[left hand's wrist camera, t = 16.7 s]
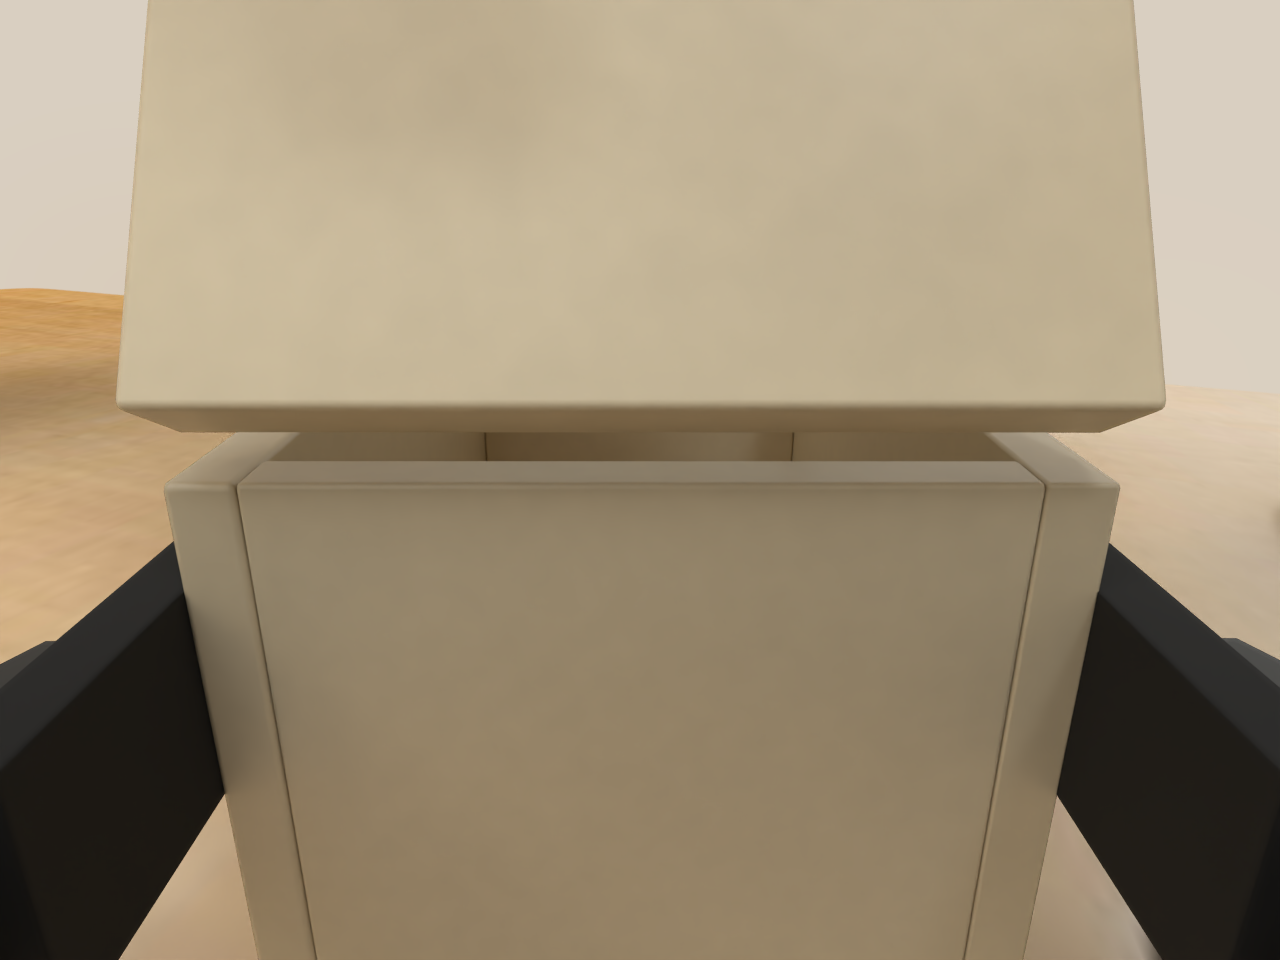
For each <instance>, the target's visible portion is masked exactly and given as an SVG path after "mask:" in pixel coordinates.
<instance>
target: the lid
mask: <svg viewBox="0 0 1280 960" xmlns="http://www.w3.org/2000/svg"><path fill="white" fill-rule="evenodd" d="M116 403H117V406H118V408H119V409H121V410H123V411H126V412H128V413H131V414H134V415H136V416H139V417H142V418H144V419H147V420H150V421H152V422H155V423H158V424H161V425H163V426H166V427H169V428H171V429H174V430H177V431H179V432H1055V433H1100V432H1103V431H1105V430H1108V429H1111V428H1114V427H1116V426H1119V425H1122V424H1125V423H1127V422H1130V421H1133V420H1135V419H1138V418H1141V417H1144V416H1146V415H1149V414H1152V413H1154V412H1157V411H1159V410H1162V409H1163V408H1164V406H1165V403H1166V392H1165V380H1164V368H1163V356H1162V344H1161V332H1160V319H1159V307H1158V295H1157V283H1156V270H1155V258H1154V246H1153V234H1152V222H1151V209H1150V197H1149V185H1148V173H1147V161H1146V148H1145V137H1144V124H1143V112H1142V100H1141V88H1140V76H1139V63H1138V51H1137V39H1136V26H1135V14H1134V2H1133V0H148V9H147V21H146V34H145V46H144V58H143V70H142V83H141V95H140V107H139V120H138V132H137V144H136V156H135V169H134V181H133V193H132V206H131V218H130V230H129V242H128V255H127V267H126V279H125V292H124V304H123V316H122V329H121V341H120V353H119V365H118V378H117V390H116Z"/></svg>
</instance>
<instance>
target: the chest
mask: <svg viewBox="0 0 1280 960" xmlns="http://www.w3.org/2000/svg"><path fill="white" fill-rule="evenodd" d="M1119 491H1120V485H1119V484H1118V483H1117V482H1116V481H1114V480H1113V479H1111V478H1110V477H1109V476H1107V475H1106V474H1104V473H1103V472H1102V471H1100V470H1099V469H1097V468H1096V467H1094V466H1093V465H1092V464H1090V463H1089V462H1087V461H1086V460H1085V459H1083V458H1082V457H1080V456H1079V455H1078V454H1076V453H1075V452H1073V451H1072V450H1071V449H1069V448H1068V447H1066V446H1065V445H1063V444H1062V443H1061V442H1059V441H1058V440H1056V439H1055V438H1054V437H1052V436H1051V435H1049V434H1048V433H1047V432H236V433H235V434H233V435H232V436H231V437H229V438H228V439H227V440H225V441H224V442H222V443H221V444H220V445H218V446H217V447H215V448H214V449H213V450H211V451H210V452H209V453H207V454H206V455H204V456H203V457H202V458H200V459H199V460H197V461H196V462H195V463H193V464H192V465H191V466H189V467H188V468H186V469H185V470H184V471H182V472H181V473H179V474H178V475H177V476H175V477H174V478H173V479H171V480H170V481H168V482H167V483H166V484H165V487H164V495H165V500H166V505H167V510H168V514H169V519H170V524H171V529H172V534H173V539H174V544H175V549H176V554H177V559H178V564H179V569H180V574H181V579H182V584H183V589H184V594H185V599H186V604H187V608H188V613H189V618H190V623H191V628H192V633H193V638H194V643H195V648H196V653H197V658H198V663H199V668H200V673H201V678H202V683H203V688H204V693H205V697H206V702H207V707H208V712H209V717H210V722H211V727H212V732H213V737H214V742H215V747H216V752H217V757H218V762H219V767H220V772H221V777H222V782H223V787H224V791H225V796H226V801H227V806H228V811H229V816H230V821H231V826H232V831H233V836H234V841H235V846H236V851H237V856H238V861H239V866H240V871H241V876H242V881H243V885H244V890H245V895H246V900H247V905H248V910H249V915H250V920H251V925H252V930H253V935H254V940H255V945H256V950H257V955H258V960H1023V958H1024V953H1025V948H1026V943H1027V938H1028V933H1029V929H1030V924H1031V919H1032V914H1033V909H1034V904H1035V899H1036V894H1037V890H1038V885H1039V880H1040V875H1041V870H1042V865H1043V860H1044V856H1045V851H1046V846H1047V841H1048V836H1049V831H1050V826H1051V822H1052V817H1053V812H1054V807H1055V802H1056V797H1057V789H1058V784H1059V779H1060V774H1061V769H1062V764H1063V760H1064V755H1065V750H1066V745H1067V740H1068V735H1069V730H1070V725H1071V720H1072V715H1073V711H1074V706H1075V701H1076V696H1077V691H1078V686H1079V681H1080V676H1081V671H1082V667H1083V662H1084V657H1085V652H1086V647H1087V642H1088V637H1089V632H1090V627H1091V623H1092V618H1093V613H1094V608H1095V603H1096V598H1097V593H1098V592H1099V588H1100V583H1101V578H1102V574H1103V569H1104V564H1105V559H1106V554H1107V549H1108V544H1109V540H1110V535H1111V530H1112V525H1113V520H1114V515H1115V510H1116V506H1117V501H1118V496H1119Z"/></svg>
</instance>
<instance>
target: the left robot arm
mask: <svg viewBox="0 0 1280 960" xmlns="http://www.w3.org/2000/svg"><path fill="white" fill-rule="evenodd" d="M224 794H225V791H224V787H223V782H222V777H221V772H220V767H219V762H218V757H217V752H216V747H215V742H214V737H213V732H212V727H211V722H210V717H209V712H208V707H207V702H206V697H205V693H204V688H203V683H202V678H201V673H200V668H199V663H198V658H197V653H196V648H195V643H194V638H193V633H192V628H191V623H190V618H189V613H188V608H187V604H186V599H185V594H184V589H183V584H182V579H181V574H180V569H179V564H178V559H177V554H176V549H175V544H174V541H173V542H172V543H171V544H170V545H169V546H167V547H166V548H165V549H164V550H163V551H162V552H160V553H159V554H158V555H157V556H156V557H154V558H153V559H152V560H151V561H150V562H149V563H147V564H146V565H145V566H144V567H143V568H142V569H140V570H139V571H138V572H137V573H136V574H134V575H133V576H132V577H131V578H130V579H129V580H127V581H126V582H125V583H124V584H123V585H122V586H120V587H119V588H118V589H117V590H116V591H114V592H113V593H112V594H111V595H110V596H109V597H107V598H106V599H105V600H104V601H103V602H101V603H100V604H99V605H98V606H97V607H96V608H94V609H93V610H92V611H91V612H90V613H89V614H87V615H86V616H85V617H84V618H83V619H81V620H80V621H79V622H78V623H77V624H76V625H74V626H73V627H72V628H71V629H70V630H69V631H67V632H66V633H65V634H64V635H63V636H61V637H60V638H59V639H58V640H57V641H45V642H43V643H41V644H39V645H37V646H35V647H33V648H31V649H29V650H27V651H25V652H24V653H22V654H20V655H18V656H16V657H14V658H12V659H10V660H8V661H6V662H4V663H2V664H0V960H119V958H120V957H121V955H122V953H123V952H124V950H125V949H126V947H127V946H128V944H129V943H130V941H131V939H132V938H133V936H134V935H135V933H136V932H137V930H138V928H139V927H140V925H141V924H142V922H143V921H144V919H145V918H146V916H147V914H148V913H149V911H150V910H151V908H152V907H153V905H154V903H155V902H156V900H157V899H158V897H159V896H160V894H161V893H162V891H163V889H164V888H165V886H166V885H167V883H168V882H169V880H170V878H171V877H172V875H173V874H174V872H175V871H176V869H177V868H178V866H179V864H180V863H181V861H182V860H183V858H184V857H185V855H186V853H187V852H188V850H189V849H190V847H191V846H192V844H193V843H194V841H195V839H196V838H197V836H198V835H199V833H200V832H201V830H202V828H203V827H204V825H205V824H206V822H207V821H208V819H209V818H210V816H211V814H212V813H213V811H214V810H215V808H216V807H217V805H218V803H219V802H220V800H221V799H222V797H223V796H224ZM1057 796H1058V797H1059V799H1060V800H1061V802H1062V804H1063V805H1064V807H1065V808H1066V810H1067V811H1068V813H1069V814H1070V816H1071V818H1072V819H1073V821H1074V822H1075V824H1076V825H1077V827H1078V829H1079V830H1080V832H1081V833H1082V835H1083V836H1084V838H1085V839H1086V841H1087V843H1088V844H1089V846H1090V847H1091V849H1092V850H1093V852H1094V854H1095V855H1096V857H1097V858H1098V860H1099V861H1100V863H1101V864H1102V866H1103V868H1104V869H1105V871H1106V872H1107V874H1108V875H1109V877H1110V879H1111V880H1112V882H1113V883H1114V885H1115V886H1116V888H1117V889H1118V891H1119V893H1120V894H1121V896H1122V897H1123V899H1124V900H1125V902H1126V904H1127V905H1128V907H1129V908H1130V910H1131V911H1132V913H1133V914H1134V916H1135V918H1136V919H1137V921H1138V922H1139V924H1140V925H1141V927H1142V929H1143V930H1144V932H1145V933H1146V935H1147V936H1148V938H1149V939H1150V941H1151V943H1152V944H1153V946H1154V947H1155V949H1156V950H1157V952H1158V953H1159V955H1160V957H1161V958H1162V960H1280V660H1278V659H1276V658H1274V657H1272V656H1270V655H1269V654H1267V653H1265V652H1263V651H1261V650H1259V649H1257V648H1255V647H1253V646H1251V645H1249V644H1247V643H1245V642H1243V641H1241V640H1239V639H1237V638H1221V637H1220V636H1218V635H1217V634H1216V633H1215V632H1214V631H1213V630H1211V629H1210V628H1209V627H1208V626H1207V625H1205V624H1204V623H1203V622H1202V621H1201V620H1200V619H1198V618H1197V617H1196V616H1195V615H1194V614H1193V613H1191V612H1190V611H1189V610H1188V609H1187V608H1185V607H1184V606H1183V605H1182V604H1181V603H1180V602H1178V601H1177V600H1176V599H1175V598H1174V597H1172V596H1171V595H1170V594H1169V593H1168V592H1167V591H1165V590H1164V589H1163V588H1162V587H1161V586H1160V585H1158V584H1157V583H1156V582H1155V581H1154V580H1152V579H1151V578H1150V577H1149V576H1148V575H1147V574H1145V573H1144V572H1143V571H1142V570H1141V569H1139V568H1138V567H1137V566H1136V565H1135V564H1134V563H1132V562H1131V561H1130V560H1129V559H1128V558H1127V557H1125V556H1124V555H1123V554H1122V553H1121V552H1119V551H1118V550H1117V549H1116V548H1115V547H1114V546H1112V545H1111V544H1110V543H1109V544H1108V549H1107V554H1106V559H1105V564H1104V569H1103V574H1102V578H1101V583H1100V588H1099V592H1098V593H1097V598H1096V603H1095V608H1094V613H1093V618H1092V623H1091V627H1090V632H1089V637H1088V642H1087V647H1086V652H1085V657H1084V662H1083V667H1082V671H1081V676H1080V681H1079V686H1078V691H1077V696H1076V701H1075V706H1074V711H1073V715H1072V720H1071V725H1070V730H1069V735H1068V740H1067V745H1066V750H1065V755H1064V760H1063V764H1062V769H1061V774H1060V779H1059V784H1058V789H1057Z"/></svg>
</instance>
